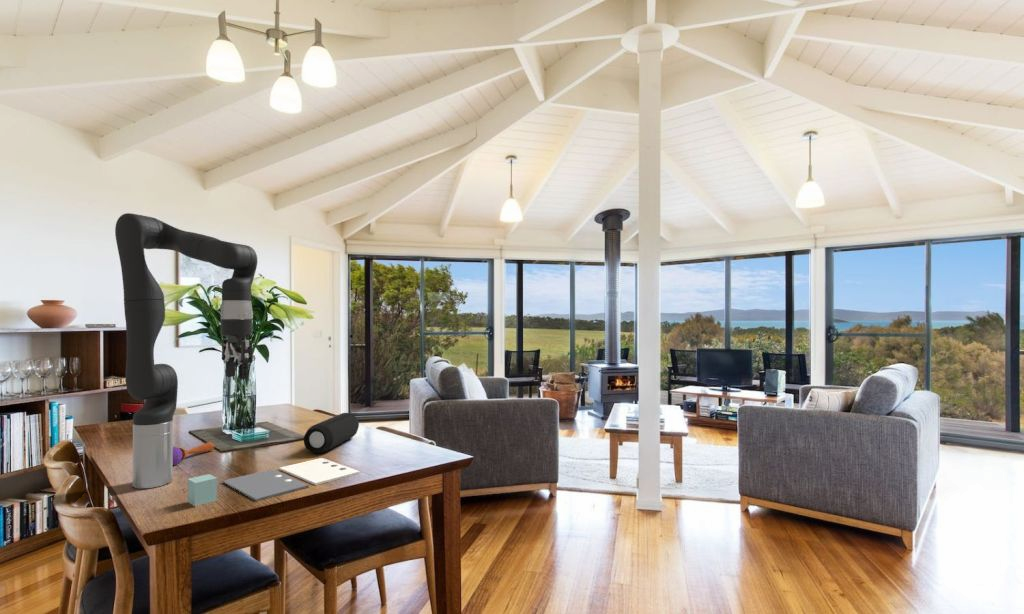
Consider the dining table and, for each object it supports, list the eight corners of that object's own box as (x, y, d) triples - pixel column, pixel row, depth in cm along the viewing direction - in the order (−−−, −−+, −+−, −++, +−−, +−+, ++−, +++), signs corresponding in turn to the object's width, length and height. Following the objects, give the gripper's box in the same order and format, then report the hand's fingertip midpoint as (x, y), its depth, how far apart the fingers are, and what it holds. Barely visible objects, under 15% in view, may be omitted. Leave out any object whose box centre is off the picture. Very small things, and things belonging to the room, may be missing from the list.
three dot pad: (278, 469, 157) (279, 467, 157) (321, 459, 167) (321, 457, 167) (315, 485, 142) (315, 482, 142) (359, 473, 153) (359, 471, 153)
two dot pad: (222, 482, 145) (222, 480, 145) (272, 471, 155) (272, 469, 155) (256, 501, 130) (256, 498, 130) (308, 487, 141) (308, 484, 141)
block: (187, 502, 130) (187, 478, 130) (209, 497, 134) (209, 474, 134) (194, 507, 126) (194, 483, 127) (217, 501, 130) (217, 478, 130)
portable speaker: (336, 437, 199) (336, 411, 199) (361, 437, 198) (361, 411, 198) (301, 455, 174) (301, 425, 174) (328, 456, 172) (328, 426, 172)
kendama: (219, 440, 178) (174, 451, 158) (215, 457, 178) (169, 470, 158) (204, 436, 179) (157, 446, 159) (200, 453, 179) (152, 465, 159)
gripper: (211, 317, 140) (211, 377, 140) (232, 317, 131) (232, 381, 131) (240, 317, 146) (240, 374, 146) (262, 317, 137) (262, 378, 136)
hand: (236, 377), depth 138 cm, fingers open, 8 cm apart
